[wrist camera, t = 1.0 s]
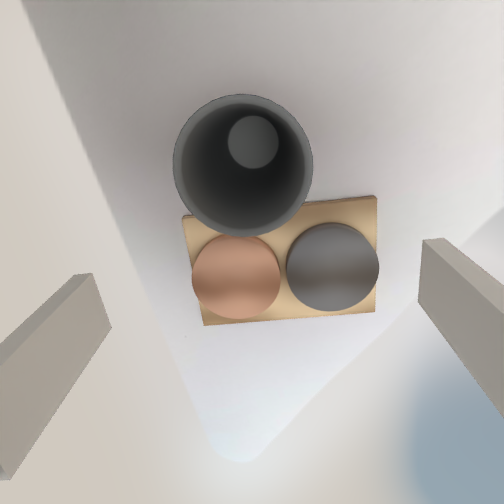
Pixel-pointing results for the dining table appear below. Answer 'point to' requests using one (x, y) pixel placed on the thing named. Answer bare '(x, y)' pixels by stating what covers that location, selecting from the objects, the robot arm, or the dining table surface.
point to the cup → (242, 165)
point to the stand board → (280, 244)
